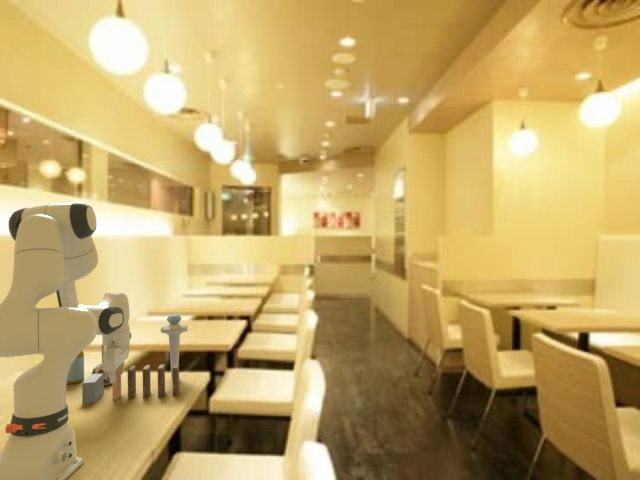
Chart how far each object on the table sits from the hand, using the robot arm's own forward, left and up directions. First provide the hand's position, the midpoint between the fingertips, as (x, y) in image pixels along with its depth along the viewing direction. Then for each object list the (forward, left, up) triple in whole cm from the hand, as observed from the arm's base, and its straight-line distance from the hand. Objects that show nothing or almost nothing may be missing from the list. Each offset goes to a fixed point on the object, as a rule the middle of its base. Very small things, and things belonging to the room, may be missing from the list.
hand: (116, 378), depth 167 cm
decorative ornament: (+16, +9, -7) cm, 20 cm away
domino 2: (0, -5, -7) cm, 8 cm away
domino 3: (0, -10, -7) cm, 12 cm away
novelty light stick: (+18, -17, -7) cm, 26 cm away
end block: (0, +8, -7) cm, 10 cm away
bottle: (+21, +21, -7) cm, 30 cm away
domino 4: (0, -15, -7) cm, 16 cm away
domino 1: (0, 0, -7) cm, 7 cm away
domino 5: (0, -20, -7) cm, 21 cm away
